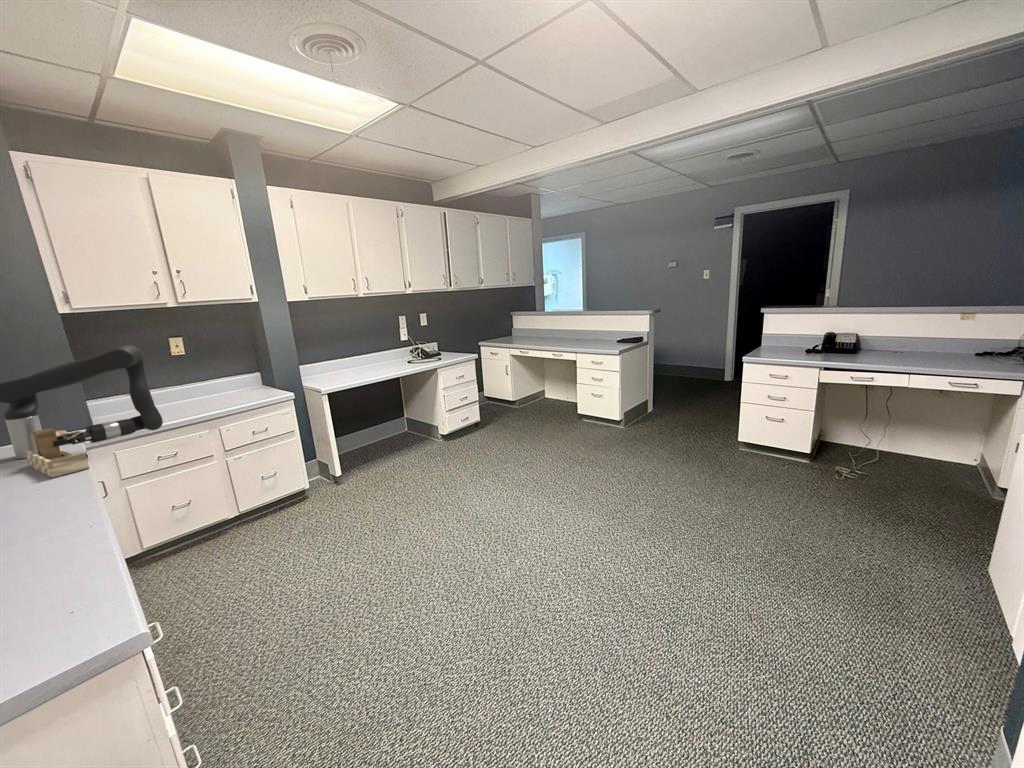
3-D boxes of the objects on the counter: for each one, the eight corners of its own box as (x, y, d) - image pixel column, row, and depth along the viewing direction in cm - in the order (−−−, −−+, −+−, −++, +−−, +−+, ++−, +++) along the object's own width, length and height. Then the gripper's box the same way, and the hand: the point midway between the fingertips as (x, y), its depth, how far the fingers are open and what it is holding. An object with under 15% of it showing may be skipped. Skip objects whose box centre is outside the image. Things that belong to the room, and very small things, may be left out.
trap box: (29, 466, 166) (25, 451, 165) (64, 458, 175) (61, 443, 173) (52, 478, 152) (47, 461, 151) (89, 468, 161) (85, 453, 160)
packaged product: (39, 433, 201) (69, 428, 209) (42, 442, 202) (71, 437, 209) (45, 438, 190) (76, 433, 198) (47, 448, 191) (78, 442, 199)
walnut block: (41, 465, 166) (32, 431, 164) (59, 461, 170) (50, 428, 168) (45, 467, 164) (36, 433, 161) (63, 462, 168) (54, 429, 165)
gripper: (95, 421, 183) (42, 431, 169) (108, 425, 176) (53, 436, 162) (99, 438, 184) (46, 449, 170) (112, 442, 177) (58, 454, 163)
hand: (50, 442), depth 166 cm, fingers open, 8 cm apart
